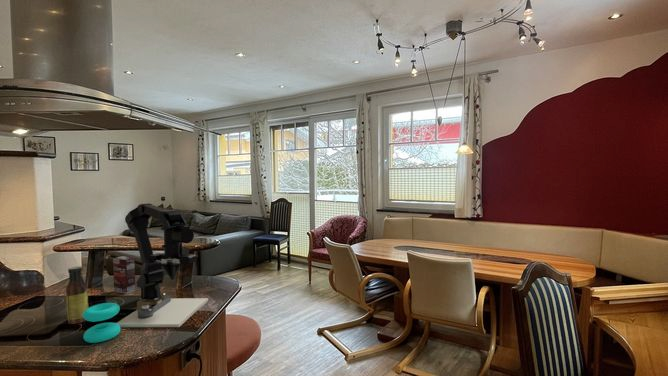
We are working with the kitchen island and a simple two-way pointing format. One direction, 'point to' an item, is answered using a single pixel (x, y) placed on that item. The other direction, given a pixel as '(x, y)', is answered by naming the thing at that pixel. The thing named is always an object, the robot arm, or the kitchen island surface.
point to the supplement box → (124, 274)
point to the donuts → (103, 329)
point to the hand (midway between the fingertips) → (173, 279)
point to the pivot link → (153, 307)
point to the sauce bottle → (76, 296)
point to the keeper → (147, 302)
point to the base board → (166, 314)
